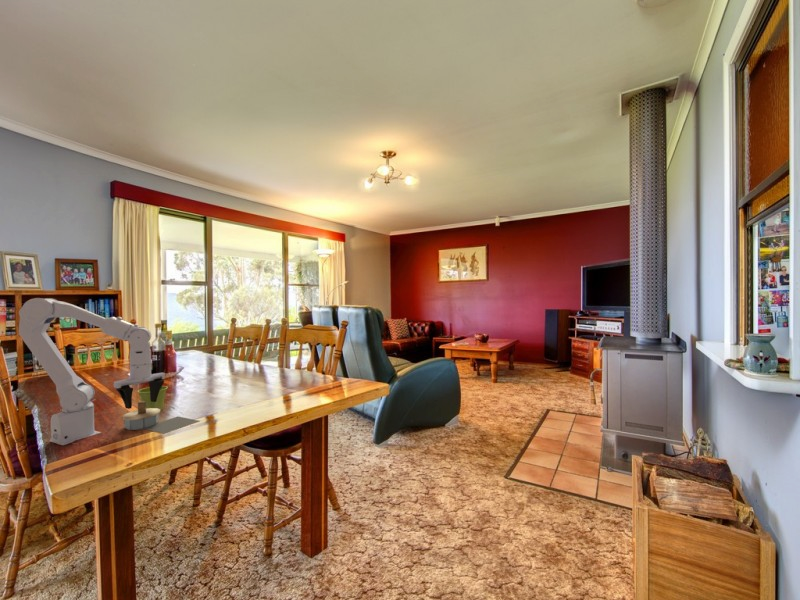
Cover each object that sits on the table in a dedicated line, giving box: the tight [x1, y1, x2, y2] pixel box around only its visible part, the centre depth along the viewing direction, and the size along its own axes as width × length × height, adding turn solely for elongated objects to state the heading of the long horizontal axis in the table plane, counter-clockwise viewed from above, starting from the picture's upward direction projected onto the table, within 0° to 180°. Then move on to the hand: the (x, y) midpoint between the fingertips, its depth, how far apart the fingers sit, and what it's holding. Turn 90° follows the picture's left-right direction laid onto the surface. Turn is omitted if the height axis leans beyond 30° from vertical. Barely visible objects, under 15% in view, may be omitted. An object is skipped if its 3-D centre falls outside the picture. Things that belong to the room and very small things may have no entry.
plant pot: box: [137, 385, 169, 412], centre depth 131 cm, size 9×9×9 cm
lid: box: [122, 401, 161, 420], centre depth 116 cm, size 10×10×4 cm
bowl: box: [123, 413, 160, 431], centre depth 116 cm, size 9×9×4 cm
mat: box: [141, 416, 200, 435], centre depth 116 cm, size 12×12×1 cm
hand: (141, 404), depth 116 cm, fingers open, 7 cm apart
